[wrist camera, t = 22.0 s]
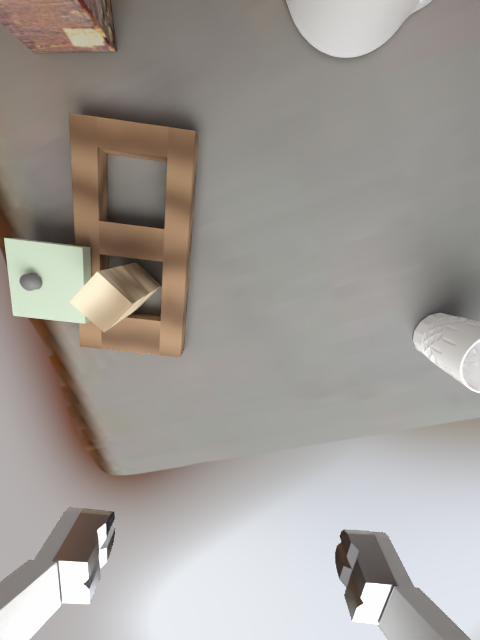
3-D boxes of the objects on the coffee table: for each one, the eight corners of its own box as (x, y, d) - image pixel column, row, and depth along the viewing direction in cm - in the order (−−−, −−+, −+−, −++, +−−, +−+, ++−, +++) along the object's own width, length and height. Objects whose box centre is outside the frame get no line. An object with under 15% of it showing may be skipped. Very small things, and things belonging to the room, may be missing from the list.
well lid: (16, 237, 34) (-3, 237, 31) (90, 247, 34) (77, 247, 32) (23, 311, 36) (6, 317, 34) (92, 319, 37) (81, 326, 34)
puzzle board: (81, 121, 33) (68, 112, 30) (198, 138, 33) (195, 130, 31) (89, 340, 41) (79, 346, 38) (183, 350, 41) (180, 357, 39)
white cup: (400, 353, 42) (449, 387, 32) (420, 303, 40) (478, 324, 30) (449, 362, 42) (511, 398, 33) (470, 313, 40) (544, 337, 30)
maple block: (115, 284, 38) (69, 301, 28) (136, 262, 38) (97, 271, 27) (139, 307, 39) (104, 332, 29) (161, 285, 38) (132, 303, 28)
